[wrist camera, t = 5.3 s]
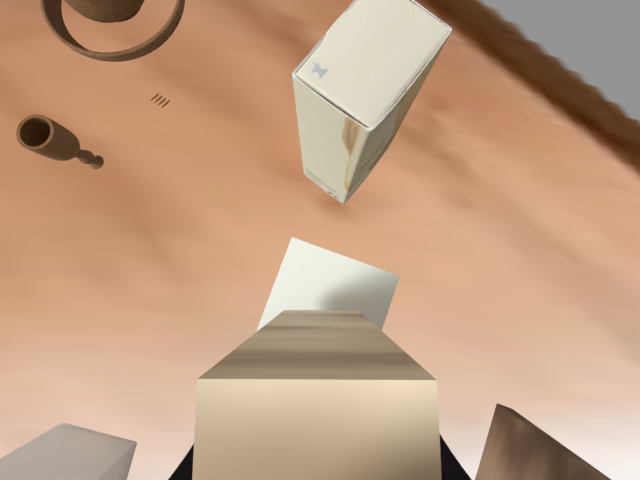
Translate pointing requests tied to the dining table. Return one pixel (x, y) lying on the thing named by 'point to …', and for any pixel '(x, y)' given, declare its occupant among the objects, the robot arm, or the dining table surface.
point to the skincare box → (362, 88)
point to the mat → (329, 284)
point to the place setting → (102, 6)
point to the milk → (70, 456)
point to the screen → (528, 453)
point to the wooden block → (317, 405)
